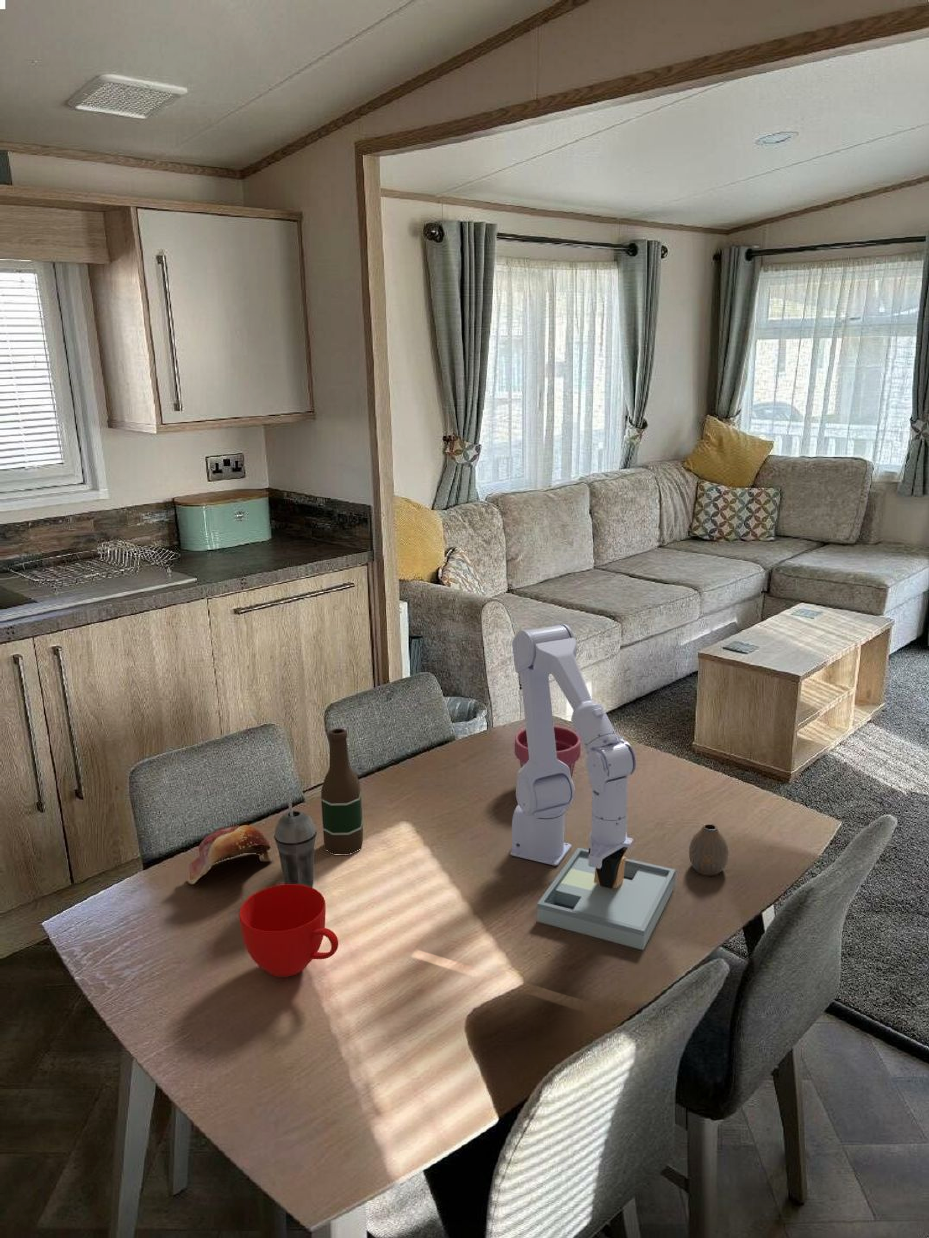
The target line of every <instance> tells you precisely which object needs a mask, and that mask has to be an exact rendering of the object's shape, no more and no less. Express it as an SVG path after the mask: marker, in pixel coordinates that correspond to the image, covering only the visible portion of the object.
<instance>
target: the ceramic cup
mask: <svg viewBox="0 0 929 1238" xmlns="http://www.w3.org/2000/svg"><path fill="white" fill-rule="evenodd" d="M326 909H327V908H326V900H325V897H324V895H323V894H322V893H321V892H320V891H318V890H317V889H316V888H312V887H309V886H305V885H299V884H284V883H283V884H278V885H273V886H270V887H266V888H264V889H262V890H261V889H260V890H258V891H256V892H255V893H253V894H252V895H250V896H249V897H248V898H247V899H246V900H245V901H244V902H243V903H242V904H241V906H240V908H239V915H238V918H239V925H240V931H241V936H242V940H243V942H244V946H245V949H246V950H247V952H248V954H249V956H250V957H251V959H252V960H253V961H254V963H255V964H256V965H257V966H258V967H260V968H261V969H262V970H264V971H266V972H267V973H268V974H270V975H271V976H274V977H280V978H284V977H285V978H286V977H290V976H294V975H297V974H299V973H300V972H302V971H304V970H305V969H306V968H307V966H308V965H309V964H310V963H311V962H312V961H313V960H326V959H328V958H331V957H332V956H333V955H334V954H335V953H336V952H337V950H338V947H339V939H338V937H337V934H336V933H335V932H334V931H333V930H331V929H329V928H327V927H325V926H326V914H327V913H326ZM324 937H326V938H327V939H328V940H329V943H330V951H326V952H321V951H320V952H319V950H320V947H321V945H322V942H323V939H324Z"/></svg>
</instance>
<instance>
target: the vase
mask: <svg viewBox="0 0 929 1238" xmlns="http://www.w3.org/2000/svg"><path fill="white" fill-rule="evenodd" d="M688 857H689V863H690V864H691V866H692V867H693V869H695V871H696V872H697V873H699V874H700V875H704V876H710V877H711V876H716V875H718V874H720V873H721V872H722V871H723V870H725V868H726V866H727V863H728V859H729V847H728V844H727V841H726V839H725V837H724V836H723V835H722V834H721V832H720V831H719V829H718V827H717V826H716V825H715V824H713V823H705V824H703V826H702V827H701V829H700V830H699V831H698V832H697V833H696V834H695V835H694V836H693V837H692V838H691V841H690V843H689V846H688Z"/></svg>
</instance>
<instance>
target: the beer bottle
mask: <svg viewBox="0 0 929 1238" xmlns="http://www.w3.org/2000/svg"><path fill="white" fill-rule="evenodd" d="M348 736H349V733H348V731H347V730H346V729H344V728H334V729H331V730H329V732H328V736H327V739H329V768H328V772H327V773H326V775H324V779H323V784H322V786H321V791H320V800H321V802H320V803H321V817H322V835H323V836H322V837H323V846H324V850H325V849H326V850H328V851H329V852H328V851H327V852H328V853H330V852H331V853H333V854H350V853H353V852H355V851H357V850H359V849H361V850H362V846H363V841H364V829H363V826H364V825H363V824H364V823H363V808H362V807H363V806H362V790H361V782H360V780H359V778H358V775H357V773H355V772H354V770H352V767H351V763H350V759H349V757H350V756H349V749H348V748H349V747H348V740H347V738H348ZM326 850H325V851H326ZM359 851H360V850H359ZM357 852H358V851H357ZM331 853H330V854H331ZM355 853H356V852H355ZM333 854H332V855H333ZM353 854H354V853H353Z"/></svg>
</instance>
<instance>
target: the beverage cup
mask: <svg viewBox="0 0 929 1238" xmlns="http://www.w3.org/2000/svg"><path fill="white" fill-rule="evenodd" d="M286 798H287V804H288V810H289V811H288V812H286V813H284V814H283V815H282V816H281V817H280V818H279V819H278V821H277V823H276V825H275V828H274V836H273V838H274V841H275V844H276V849H277V851H278V856H279V861H280V867H281V871H282V878H283V879H282V880H283V885H284V884H299V885H305V886H309V887H312V888H313V887H314V872H315V871H314V869H315V868H314V866H315V862H314V861H315V845H316V837H317V833H318V832H317V830H316V829H317V828H316V826H315V823H314V821H313V819H312V817H311V816H309V815H308V814H307V813H305V812H303V811H300V810H293V804H292V798H291V794H290V791H287V792H286Z"/></svg>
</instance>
